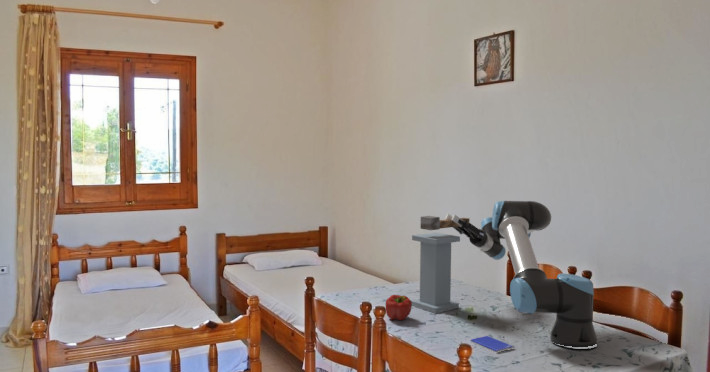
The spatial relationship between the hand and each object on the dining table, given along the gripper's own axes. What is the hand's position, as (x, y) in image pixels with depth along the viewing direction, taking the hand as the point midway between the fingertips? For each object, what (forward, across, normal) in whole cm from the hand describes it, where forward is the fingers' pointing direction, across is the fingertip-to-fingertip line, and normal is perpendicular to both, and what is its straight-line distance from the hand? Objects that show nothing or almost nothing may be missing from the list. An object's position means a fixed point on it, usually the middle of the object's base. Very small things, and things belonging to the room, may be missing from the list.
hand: (449, 216), depth 244 cm
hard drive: (+4, -45, -46) cm, 65 cm away
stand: (-12, 0, -37) cm, 38 cm away
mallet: (-1, 0, -4) cm, 4 cm away
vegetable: (+9, -4, -49) cm, 50 cm away
